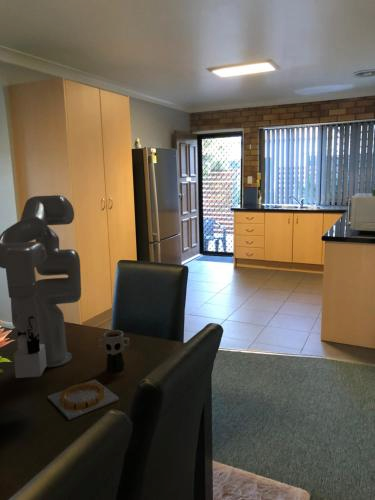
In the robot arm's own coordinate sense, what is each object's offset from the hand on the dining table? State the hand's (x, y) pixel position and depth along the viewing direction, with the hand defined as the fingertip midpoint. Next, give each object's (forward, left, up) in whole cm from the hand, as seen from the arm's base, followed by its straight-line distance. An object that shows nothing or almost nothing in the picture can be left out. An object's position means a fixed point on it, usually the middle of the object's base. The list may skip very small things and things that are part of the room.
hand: (29, 347), depth 121 cm
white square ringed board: (+5, +13, -19) cm, 23 cm away
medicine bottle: (0, 0, -8) cm, 8 cm away
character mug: (-7, +31, -19) cm, 37 cm away
